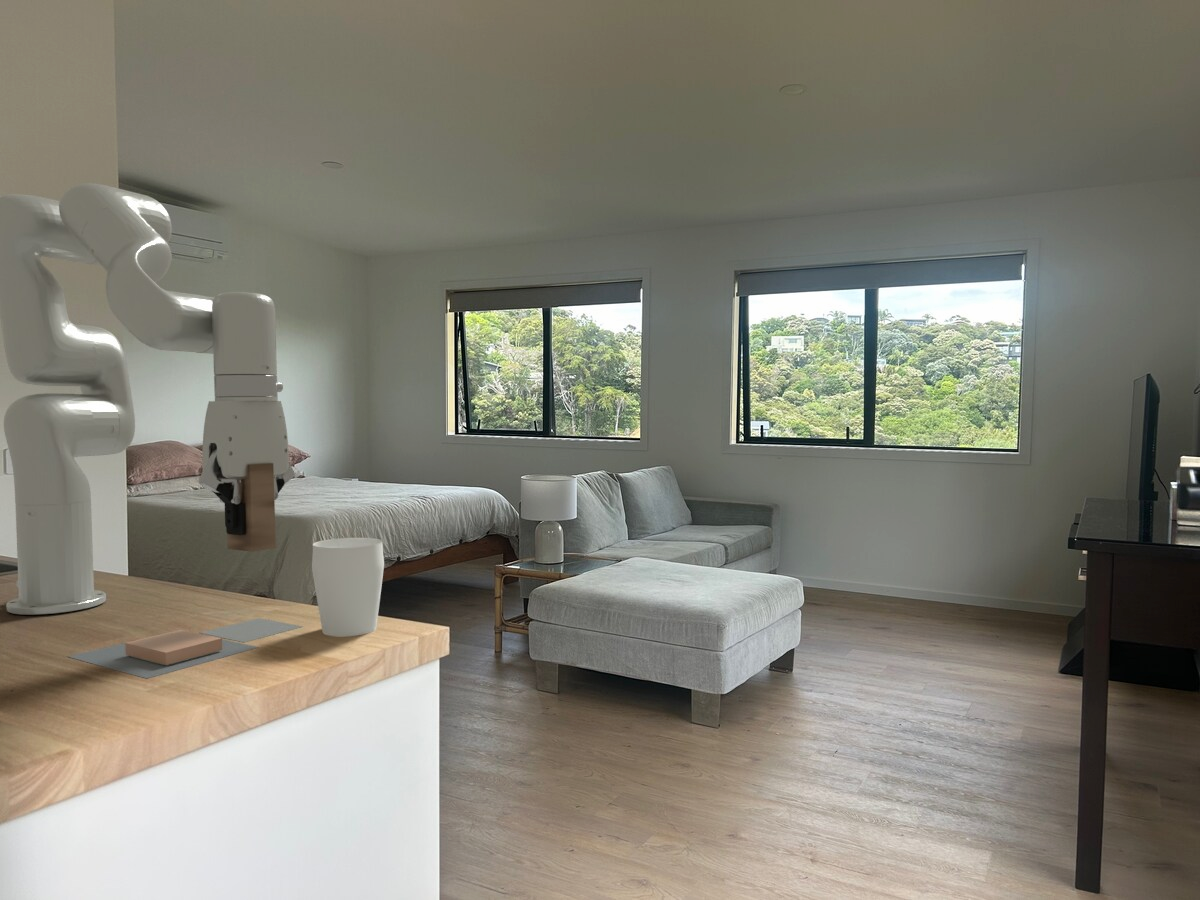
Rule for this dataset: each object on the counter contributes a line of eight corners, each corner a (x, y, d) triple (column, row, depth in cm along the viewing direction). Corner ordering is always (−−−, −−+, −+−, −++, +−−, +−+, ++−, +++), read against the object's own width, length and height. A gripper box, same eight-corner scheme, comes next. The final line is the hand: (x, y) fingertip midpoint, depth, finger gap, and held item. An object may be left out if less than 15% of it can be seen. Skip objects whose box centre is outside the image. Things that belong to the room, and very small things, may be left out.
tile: (125, 642, 101) (166, 652, 97) (181, 629, 107) (221, 638, 103) (125, 656, 101) (166, 666, 97) (181, 642, 107) (222, 651, 103)
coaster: (199, 637, 112) (199, 632, 112) (259, 622, 120) (259, 618, 120) (244, 647, 107) (244, 642, 107) (303, 630, 115) (303, 626, 115)
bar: (227, 548, 113) (224, 463, 112) (250, 545, 116) (248, 462, 115) (252, 551, 110) (249, 464, 109) (275, 547, 113) (273, 463, 112)
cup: (310, 629, 116) (308, 540, 115) (379, 622, 119) (377, 535, 119) (316, 646, 107) (314, 550, 107) (390, 638, 111) (389, 545, 110)
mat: (67, 661, 101) (67, 656, 101) (179, 634, 113) (179, 629, 113) (147, 683, 93) (147, 678, 93) (259, 652, 105) (259, 647, 105)
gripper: (280, 391, 121) (284, 523, 122) (168, 390, 107) (173, 538, 108) (317, 390, 117) (321, 526, 118) (205, 388, 103) (210, 543, 104)
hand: (250, 530), depth 113 cm, fingers closed on bar, 3 cm apart
